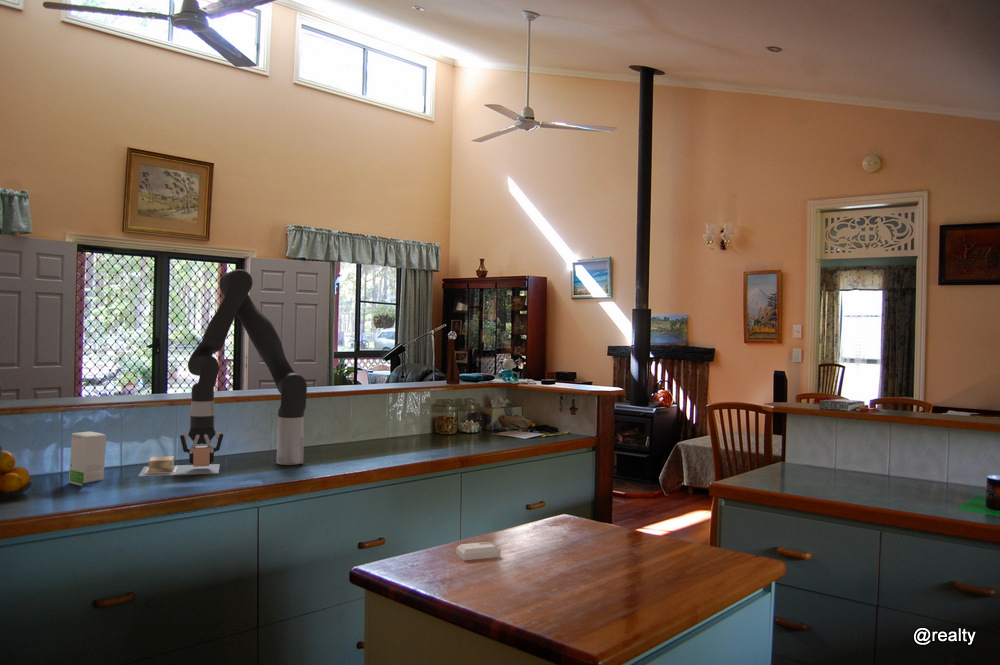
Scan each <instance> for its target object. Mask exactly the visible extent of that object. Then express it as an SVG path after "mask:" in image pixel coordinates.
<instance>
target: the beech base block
mask: <svg viewBox="0 0 1000 665" xmlns="http://www.w3.org/2000/svg"><path fill="white" fill-rule="evenodd" d="M148 466H149V471H148V473H155V472H172V471H173V469H174V466H175V456H173V455H172V456H170V455H169V456H151V457H150V458H149V460H148Z"/></svg>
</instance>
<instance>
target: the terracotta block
mask: <svg viewBox="0 0 1000 665" xmlns="http://www.w3.org/2000/svg"><path fill="white" fill-rule="evenodd" d="M209 460H210V448H208V445H200V446H199V445H196V447H195V448H194V449H193V467H200V466H209V465H210V464H209Z"/></svg>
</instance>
